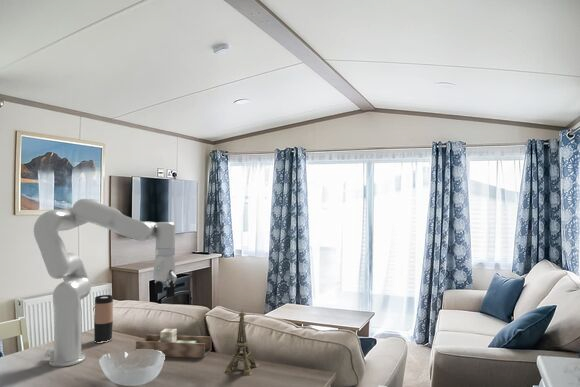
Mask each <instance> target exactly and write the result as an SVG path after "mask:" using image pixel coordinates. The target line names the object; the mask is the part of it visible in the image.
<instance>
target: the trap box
mask: <svg viewBox="0 0 580 387" xmlns="http://www.w3.org/2000/svg"><path fill="white" fill-rule="evenodd" d="M136 349H154V350H159V351H162V352H163V353H164V354H165V355H166V356H165V357H169V358H170V357H175V358H177V357H178V358H196V359H198V358H199V359H202V358H203V359H205V358H206V356H208V354H209V353H210V352H211V351H212V336H207V335H206V336H202V335H201V336H200V335H198V336H197V335H177V341H176V342H160V334H145V338H144V339H143V340H136V341H135V350H136Z"/></svg>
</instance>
